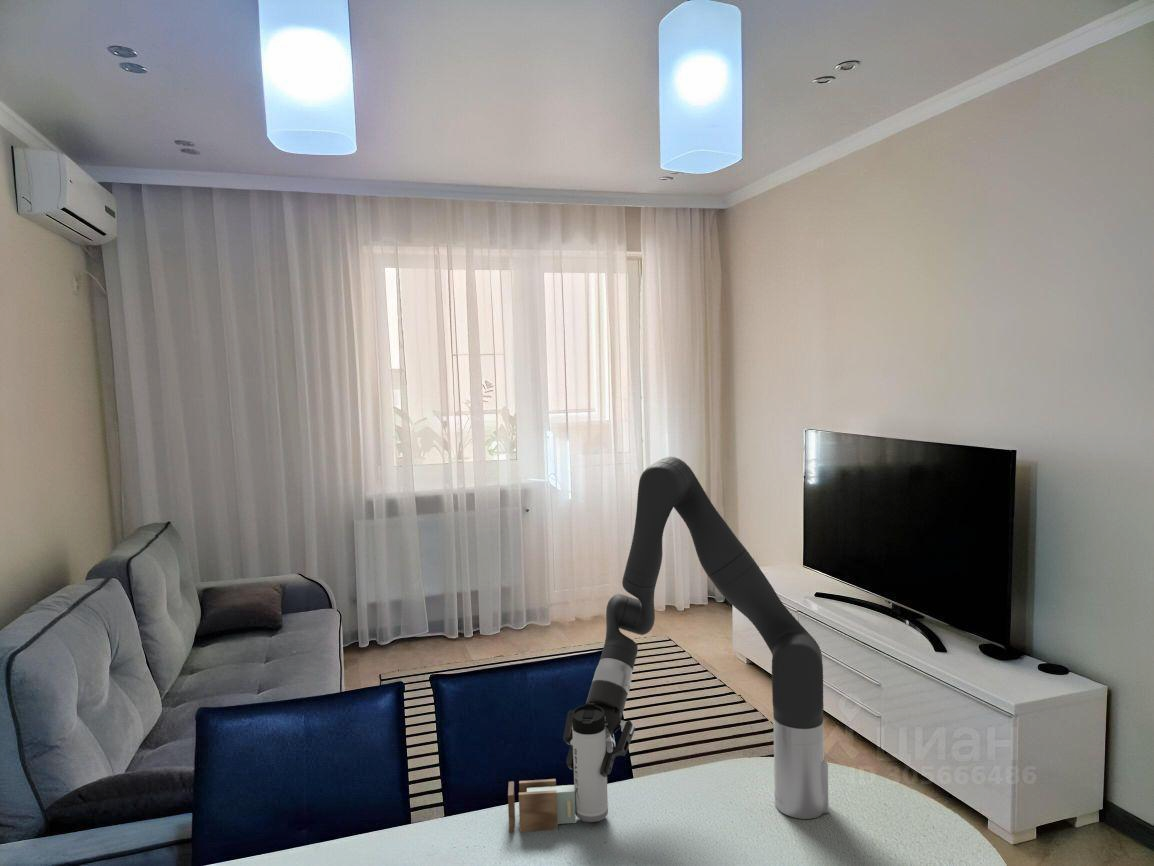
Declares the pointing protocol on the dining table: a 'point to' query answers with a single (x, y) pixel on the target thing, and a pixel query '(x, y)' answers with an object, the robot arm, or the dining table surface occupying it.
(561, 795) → the pale green box
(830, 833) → the dining table surface
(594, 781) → the travel mug
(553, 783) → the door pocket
